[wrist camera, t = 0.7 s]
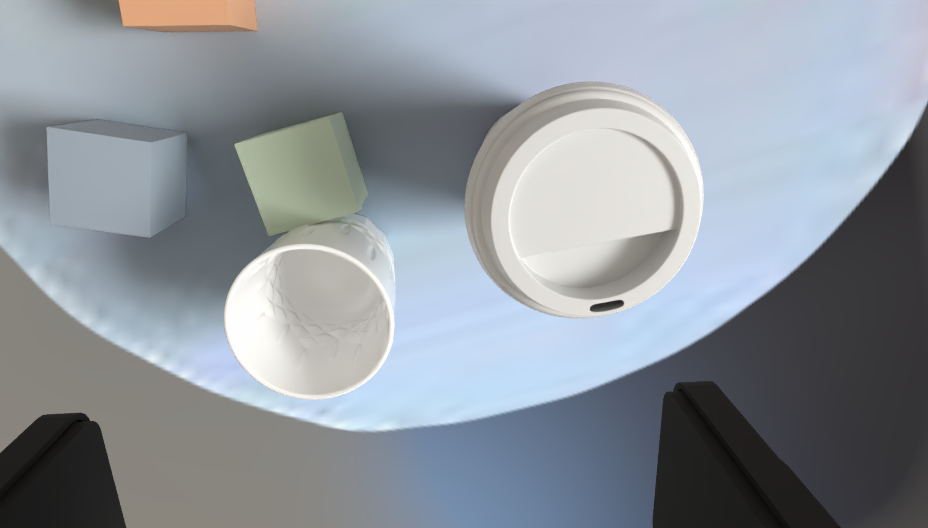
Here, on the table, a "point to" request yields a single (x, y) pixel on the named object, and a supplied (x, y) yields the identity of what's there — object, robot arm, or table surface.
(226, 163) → the table surface
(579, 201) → the coffee cup
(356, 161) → the sage block
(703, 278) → the table surface
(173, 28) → the terracotta block
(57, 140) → the slate block
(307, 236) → the white cup
